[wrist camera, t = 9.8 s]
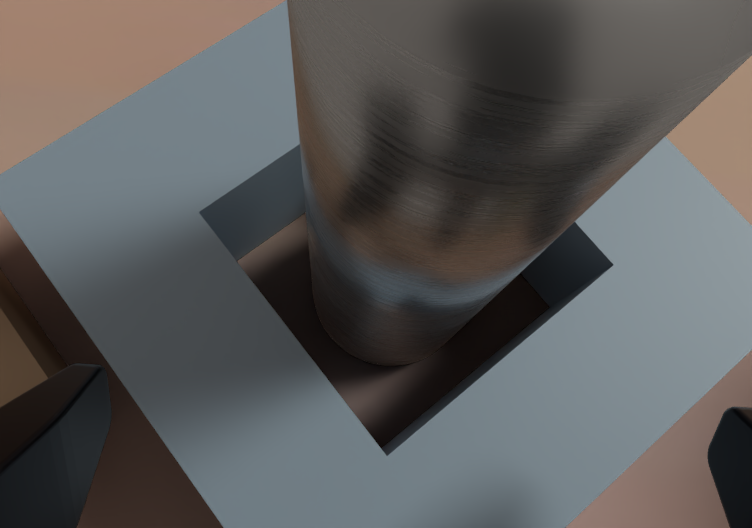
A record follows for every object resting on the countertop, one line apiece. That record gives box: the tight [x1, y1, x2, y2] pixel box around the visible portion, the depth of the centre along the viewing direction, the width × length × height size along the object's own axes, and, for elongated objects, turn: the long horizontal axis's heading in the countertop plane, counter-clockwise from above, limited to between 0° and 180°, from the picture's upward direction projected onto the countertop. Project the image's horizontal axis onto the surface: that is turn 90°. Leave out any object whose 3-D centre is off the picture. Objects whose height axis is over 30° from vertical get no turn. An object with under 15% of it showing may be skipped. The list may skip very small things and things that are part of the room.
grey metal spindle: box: [287, 0, 752, 366], centre depth 11 cm, size 4×4×13 cm
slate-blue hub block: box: [0, 0, 752, 528], centre depth 15 cm, size 12×12×4 cm
